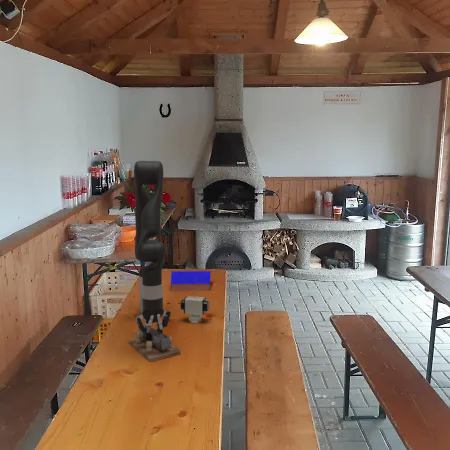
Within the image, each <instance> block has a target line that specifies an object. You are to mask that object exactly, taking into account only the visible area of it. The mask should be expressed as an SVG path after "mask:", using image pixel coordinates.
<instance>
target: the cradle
mask: <svg viewBox="0 0 450 450" xmlns="http://www.w3.org/2000/svg"><path fill="white" fill-rule="evenodd" d="M157 328H158V327H155V328H154V329H155V330H157ZM167 336H168V335H167ZM168 337H170V348H167V349H164V350H161V349H159V348H157V347H155V346H154V345H152V341H147V342H146V341H145V340H143V339H141V332H139V331H137V332H135V338H132V339H128V343H129V345H131V346H132V348H134V349H135V350H136V351H137V352H139V353H140V354H141V355H142V356H143V357H144V358H145V359H146V360H147V361H148V362H150V363H151V362H155V361H159V360H163V359H167V358H170V357H171V358H172V357H175V356H179V355H181V350H180V349H179V348H178V347H176V346H174V345H173V337H172V336H171V335H169V336H168Z"/></svg>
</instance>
